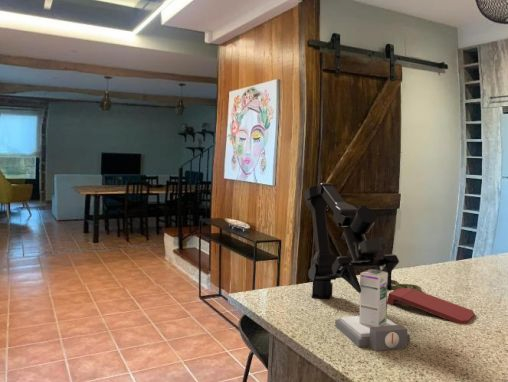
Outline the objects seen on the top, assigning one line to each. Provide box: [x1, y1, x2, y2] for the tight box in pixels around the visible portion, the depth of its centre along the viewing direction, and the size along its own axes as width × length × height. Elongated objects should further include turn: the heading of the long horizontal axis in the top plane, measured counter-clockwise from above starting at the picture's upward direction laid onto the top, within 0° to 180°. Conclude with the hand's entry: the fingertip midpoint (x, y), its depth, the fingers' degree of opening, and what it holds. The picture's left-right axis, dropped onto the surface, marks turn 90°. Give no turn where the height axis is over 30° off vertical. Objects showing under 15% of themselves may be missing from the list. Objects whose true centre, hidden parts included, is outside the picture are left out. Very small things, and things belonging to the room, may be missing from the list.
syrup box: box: [358, 268, 388, 327], centre depth 118 cm, size 6×6×14 cm
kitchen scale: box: [334, 315, 411, 352], centre depth 116 cm, size 18×15×5 cm
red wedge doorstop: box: [387, 288, 476, 325], centre depth 139 cm, size 12×5×25 cm
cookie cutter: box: [391, 279, 423, 292], centre depth 161 cm, size 18×12×2 cm, turn 56°
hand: (375, 291), depth 116 cm, fingers open, 9 cm apart
